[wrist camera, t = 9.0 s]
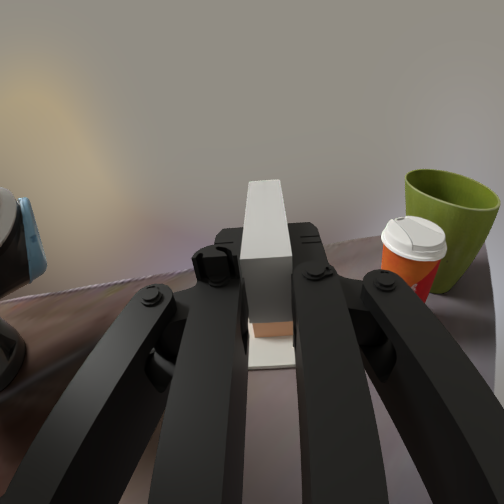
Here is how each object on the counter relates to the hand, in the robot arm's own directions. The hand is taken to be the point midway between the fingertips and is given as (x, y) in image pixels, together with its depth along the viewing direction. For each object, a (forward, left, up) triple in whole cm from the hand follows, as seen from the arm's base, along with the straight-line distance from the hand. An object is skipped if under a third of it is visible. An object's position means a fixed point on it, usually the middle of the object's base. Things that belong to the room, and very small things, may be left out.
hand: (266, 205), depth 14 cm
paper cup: (+8, +17, -22) cm, 29 cm away
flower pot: (+13, +29, -22) cm, 39 cm away
